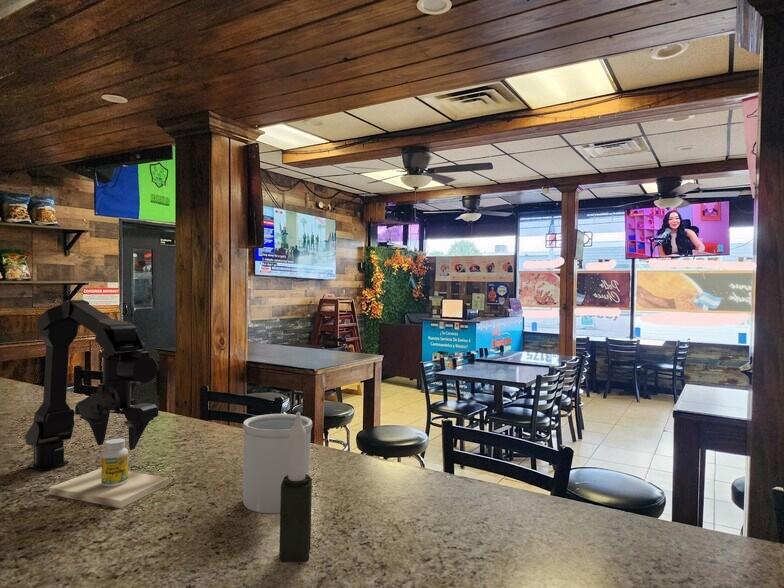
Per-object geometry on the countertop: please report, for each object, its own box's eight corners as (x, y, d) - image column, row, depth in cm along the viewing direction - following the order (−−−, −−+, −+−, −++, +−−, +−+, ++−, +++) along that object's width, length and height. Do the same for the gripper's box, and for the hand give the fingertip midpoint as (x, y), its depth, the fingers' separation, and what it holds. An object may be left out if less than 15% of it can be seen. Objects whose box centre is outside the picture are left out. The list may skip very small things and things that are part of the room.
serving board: (49, 494, 111) (49, 487, 111) (103, 473, 125) (103, 467, 125) (120, 508, 105) (120, 500, 105) (169, 484, 118) (169, 477, 118)
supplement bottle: (126, 477, 118) (127, 436, 118) (129, 484, 114) (130, 442, 114) (100, 481, 115) (101, 439, 115) (101, 489, 111) (102, 445, 111)
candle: (282, 547, 91) (285, 408, 91) (310, 546, 91) (314, 408, 91) (278, 562, 85) (281, 415, 85) (308, 561, 86) (311, 415, 86)
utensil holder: (286, 482, 121) (288, 409, 121) (323, 501, 111) (325, 422, 111) (229, 499, 111) (230, 419, 111) (264, 522, 100) (266, 434, 100)
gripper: (53, 381, 110) (51, 452, 110) (120, 387, 104) (119, 463, 104) (97, 373, 120) (96, 439, 120) (160, 379, 115) (159, 448, 115)
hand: (116, 447), depth 114 cm, fingers open, 9 cm apart
